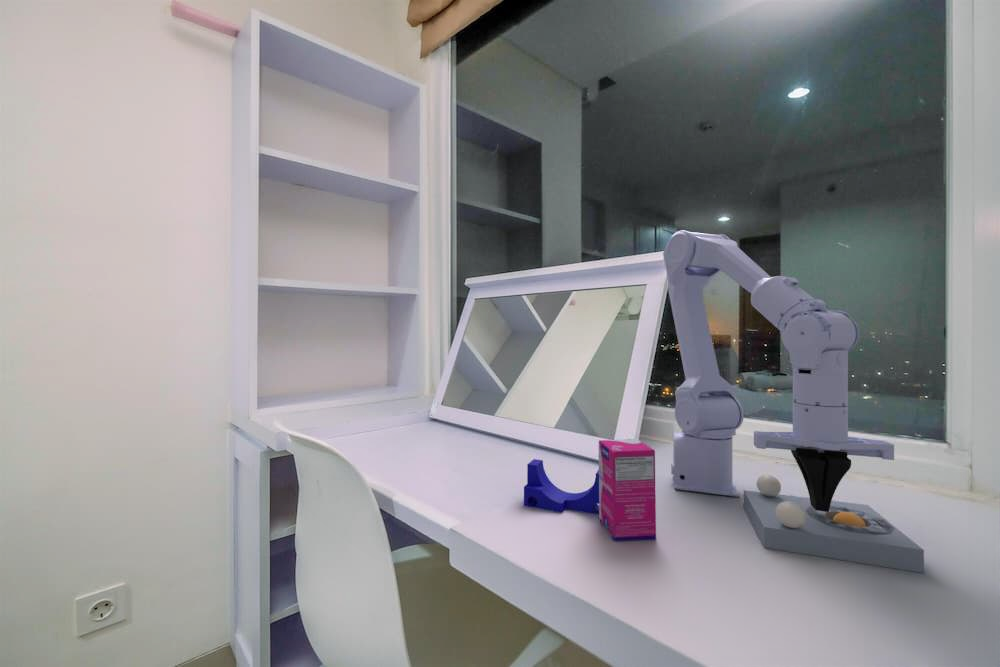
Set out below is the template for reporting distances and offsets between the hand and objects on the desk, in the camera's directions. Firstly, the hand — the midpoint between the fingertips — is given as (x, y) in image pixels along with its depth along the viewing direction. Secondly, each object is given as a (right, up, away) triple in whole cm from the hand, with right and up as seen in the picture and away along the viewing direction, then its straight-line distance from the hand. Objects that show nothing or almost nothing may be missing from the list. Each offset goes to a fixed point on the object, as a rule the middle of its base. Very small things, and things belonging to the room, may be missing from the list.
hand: (819, 508), depth 54 cm
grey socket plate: (0, -3, 0) cm, 3 cm away
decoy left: (-2, 0, +7) cm, 7 cm away
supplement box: (-25, -4, +1) cm, 25 cm away
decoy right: (-6, +1, -3) cm, 7 cm away
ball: (+3, -2, -1) cm, 4 cm away
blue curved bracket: (-31, -4, +8) cm, 33 cm away
